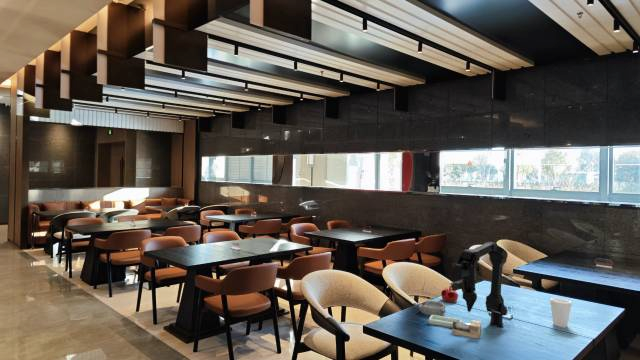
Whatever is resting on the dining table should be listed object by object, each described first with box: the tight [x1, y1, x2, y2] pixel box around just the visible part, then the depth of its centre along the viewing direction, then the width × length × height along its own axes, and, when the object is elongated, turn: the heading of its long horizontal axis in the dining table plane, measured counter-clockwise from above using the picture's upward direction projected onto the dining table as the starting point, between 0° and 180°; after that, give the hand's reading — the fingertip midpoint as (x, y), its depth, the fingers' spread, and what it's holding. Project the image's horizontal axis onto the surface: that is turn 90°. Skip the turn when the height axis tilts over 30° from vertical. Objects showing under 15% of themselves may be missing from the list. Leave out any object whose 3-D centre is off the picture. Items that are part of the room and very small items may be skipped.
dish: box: [418, 300, 447, 316], centre depth 231 cm, size 14×14×5 cm
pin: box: [452, 321, 471, 331], centre depth 201 cm, size 3×11×3 cm, turn 64°
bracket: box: [451, 319, 482, 340], centre depth 201 cm, size 8×13×6 cm, turn 64°
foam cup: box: [550, 297, 572, 328], centre depth 215 cm, size 10×9×13 cm
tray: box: [428, 315, 463, 329], centre depth 214 cm, size 9×16×2 cm, turn 64°
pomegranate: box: [440, 285, 459, 303], centre depth 254 cm, size 10×10×9 cm
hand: (468, 308), depth 199 cm, fingers open, 9 cm apart
